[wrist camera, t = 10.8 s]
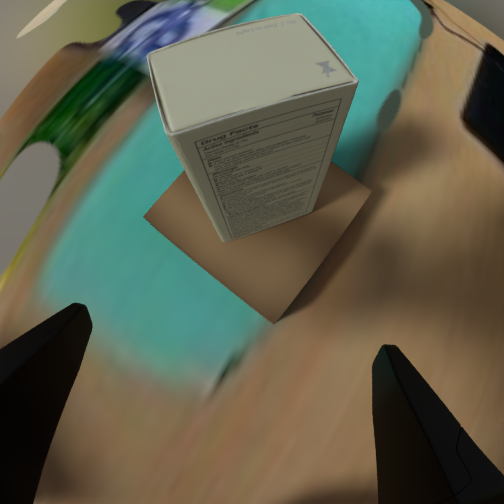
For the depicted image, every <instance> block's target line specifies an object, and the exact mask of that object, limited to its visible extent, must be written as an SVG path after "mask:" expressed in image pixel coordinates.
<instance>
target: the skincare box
mask: <svg viewBox="0 0 504 504" xmlns="http://www.w3.org/2000/svg"><path fill="white" fill-rule="evenodd" d="M147 61H148V65H149V70H150V75H151V80H152V85H153V89H154V93H155V97H156V101H157V105H158V109H159V113H160V116H161V120H162V123H163V126H164V130H165V133H166V135H167V137H168V139H169V141H170V143H171V144H172V146H173V148H174V150H175V152H176V154H177V156H178V158H179V160H180V162H181V164H182V166H183V168H184V170H185V172H186V174H187V176H188V178H189V180H190V181H191V183H192V185H193V187H194V189H195V191H196V193H197V195H198V197H199V199H200V201H201V203H202V205H203V207H204V209H205V210H206V212H207V214H208V216H209V218H210V220H211V222H212V224H213V226H214V228H215V230H216V232H217V233H218V235H219V237H220V239H221V241H222V242H225V243H226V242H229V241H232V240H235V239H238V238H241V237H244V236H247V235H250V234H253V233H256V232H259V231H261V230H264V229H267V228H270V227H273V226H276V225H278V224H281V223H284V222H287V221H289V220H292V219H295V218H297V217H300V216H303V215H305V214H308V213H310V212H312V210H313V208H314V205H315V203H316V200H317V197H318V194H319V192H320V189H321V186H322V184H323V181H324V178H325V176H326V173H327V170H328V168H329V165H330V162H331V159H332V157H333V154H334V151H335V149H336V146H337V143H338V140H339V137H340V134H341V132H342V129H343V126H344V123H345V120H346V117H347V114H348V112H349V109H350V106H351V103H352V100H353V97H354V94H355V91H356V88H357V85H358V82H359V81H358V79H357V78H356V77H355V76H354V74H353V73H352V72H351V70H350V69H349V67H348V66H347V65H346V64H345V62H344V61H343V60H342V59H341V57H340V56H339V55H338V54H337V52H336V51H335V50H334V48H333V47H332V46H331V45H330V44H329V43H328V41H327V40H326V39H325V38H324V37H323V35H322V34H321V33H320V32H319V31H318V30H317V29H316V28H315V27H314V26H313V25H312V24H311V23H310V21H309V20H308V19H307V18H306V17H305V16H304V15H302V14H300V13H295V14H289V15H281V16H275V17H269V18H264V19H259V20H254V21H251V22H245V23H241V24H237V25H232V26H229V27H225V28H222V29H217V30H213V31H211V32H207V33H204V34H201V35H197V36H194V37H191V38H188V39H185V40H182V41H179V42H176V43H173V44H171V45H168V46H165V47H163V48H160V49H157V50H155V51H152V52H150V53H149V54H148V55H147Z"/></svg>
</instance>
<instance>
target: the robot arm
mask: <svg viewBox="0 0 504 504" xmlns="http://www.w3.org/2000/svg"><path fill="white" fill-rule="evenodd" d="M91 332H92V321H91V318H90V315H89V312H88V309H87V307H86V305H84V304H80V303H72V304H71V305H69V306H67V307H66V308H64V309H63V310H61V311H59V312H58V313H56V314H55V315H53V316H51V317H50V318H48V319H47V320H45V321H43V322H42V323H40V324H39V325H37V326H35V327H34V328H32V329H31V330H29V331H28V332H26V333H24V334H23V335H21V336H20V337H18V338H17V339H15V340H14V341H12V342H11V343H9V344H8V345H6V346H4V347H3V348H1V349H0V504H33V502H34V498H35V494H36V491H37V487H38V484H39V480H40V477H41V474H42V470H43V467H44V463H45V460H46V457H47V454H48V451H49V448H50V445H51V442H52V439H53V436H54V433H55V431H56V428H57V425H58V422H59V420H60V417H61V414H62V412H63V409H64V406H65V404H66V401H67V399H68V396H69V394H70V391H71V389H72V386H73V384H74V381H75V379H76V376H77V374H78V371H79V369H80V366H81V363H82V360H83V356H84V353H85V350H86V347H87V344H88V341H89V338H90V335H91ZM372 414H373V426H374V436H375V448H376V462H377V480H378V504H504V475H503V474H502V473H501V472H500V471H499V470H498V468H497V467H496V466H495V465H494V464H493V463H492V462H491V461H490V460H489V459H488V458H487V456H486V455H485V454H484V453H483V452H482V451H481V450H480V449H479V447H478V446H477V445H476V444H475V443H474V441H473V440H472V439H471V438H470V436H469V435H468V434H467V432H466V431H465V430H464V428H463V427H461V425H460V423H459V422H458V421H457V420H456V418H455V417H454V416H453V414H452V413H451V412H450V411H449V409H448V408H447V407H446V406H445V404H444V403H443V402H442V401H441V399H440V398H439V397H438V395H437V394H436V393H435V392H434V391H433V389H432V388H431V387H430V386H429V384H428V383H427V382H426V381H425V379H424V378H423V377H422V376H421V375H420V373H419V372H418V371H417V370H416V368H415V367H414V366H413V365H412V364H411V362H410V361H409V360H408V359H407V358H406V356H405V355H404V354H403V353H402V352H401V350H400V349H399V348H398V347H397V346H396V345H387V344H385V345H382V346H381V348H380V350H379V352H378V354H377V356H376V358H375V359H374V362H373V365H372Z"/></svg>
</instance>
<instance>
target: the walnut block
mask: <svg viewBox="0 0 504 504" xmlns="http://www.w3.org/2000/svg"><path fill="white" fill-rule="evenodd" d="M371 192H372V191H371V190H370V189H368V188H367V187H366V186H364V185H363V184H362V183H360V182H359V181H358V180H356V179H355V178H354V177H352V176H351V175H349V174H348V173H347V172H345V171H344V170H342V169H341V168H340V167H338V166H337V165H335V164H334V163H333V162H330V165H329V168H328V170H327V173H326V176H325V178H324V181H323V184H322V186H321V189H320V192H319V194H318V197H317V200H316V203H315V205H314V208H313V210H312V212H310V213H308V214H305V215H303V216H300V217H297V218H295V219H292V220H289V221H287V222H284V223H281V224H278V225H276V226H273V227H270V228H267V229H264V230H261V231H259V232H256V233H253V234H250V235H247V236H244V237H241V238H238V239H235V240H232V241H229V242H226V243H225V242H222V241H221V239H220V237H219V235H218V233H217V232H216V230H215V228H214V226H213V224H212V222H211V220H210V218H209V216H208V214H207V212H206V210H205V209H204V207H203V205H202V203H201V201H200V199H199V197H198V195H197V193H196V191H195V189H194V187H193V185H192V183H191V181H190V180H189V178H188V176H187V174H186V172H185V170H184V171H183V172H182V173H181V175H180V176H179V177H178V178H177V179H176V180H175V181H174V182H173V183H172V184H171V186H170V187H169V188H168V189H167V190H166V191H165V192H164V193H163V194H162V196H161V197H160V198H159V199H158V200H157V201H156V202H155V204H154V205H153V206H152V207H151V208H150V209H149V211H148V212H147V213H146V214H145V215H144V216H143V217H144V218H145V219H146V220H147V221H148V222H149V223H150V224H151V225H152V226H153V227H154V228H155V229H156V230H158V231H159V232H160V233H161V234H162V235H163V236H165V237H166V238H167V239H168V240H169V241H171V242H172V243H173V244H174V245H175V246H176V247H178V248H179V249H180V250H181V251H182V252H184V253H185V254H186V255H187V256H188V257H190V258H191V259H192V260H193V261H195V262H196V263H197V264H198V265H199V266H201V267H202V268H203V269H204V270H205V271H207V272H208V273H209V274H210V275H212V276H213V277H214V278H215V279H217V280H218V281H219V282H220V283H221V284H223V285H224V286H225V287H226V288H228V289H229V290H230V291H231V292H233V293H234V294H235V295H236V296H238V297H239V298H240V299H241V300H243V301H244V302H245V303H246V304H248V305H249V306H250V307H252V308H253V309H254V310H255V311H257V312H258V313H259V314H260V315H262V316H263V317H264V318H266V319H267V320H268V321H269V322H271V323H272V324H275V323H276V322H277V321H278V319H279V318H280V317H281V315H282V314H283V313H284V312H285V310H286V309H287V308H288V307H289V305H290V304H291V303H292V301H293V300H294V299H295V297H296V296H297V295H298V294H299V292H300V291H301V290H302V288H303V287H304V286H305V284H306V283H307V282H308V280H309V279H310V278H311V276H312V275H313V274H314V272H315V271H316V270H317V268H318V267H319V266H320V264H321V263H322V262H323V260H324V259H325V257H326V256H327V255H328V253H329V252H330V251H331V249H332V248H333V246H334V245H335V244H336V242H337V241H338V240H339V238H340V237H341V235H342V234H343V233H344V231H345V230H346V228H347V227H348V225H349V224H350V223H351V221H352V220H353V218H354V217H355V216H356V214H357V213H358V211H359V210H360V208H361V207H362V205H363V204H364V203H365V201H366V200H367V198H368V197H369V195H370V194H371Z"/></svg>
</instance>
